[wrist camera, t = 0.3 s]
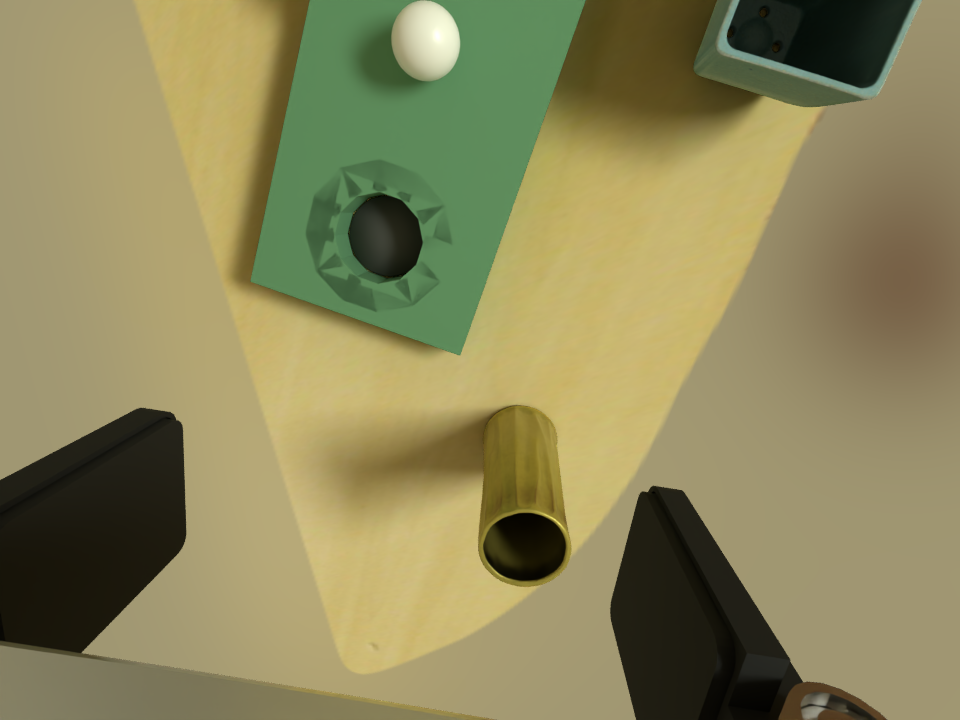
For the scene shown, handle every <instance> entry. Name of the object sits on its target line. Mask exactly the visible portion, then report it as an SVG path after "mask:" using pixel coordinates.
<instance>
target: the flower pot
mask: <svg viewBox="0 0 960 720" xmlns="http://www.w3.org/2000/svg"><path fill="white" fill-rule="evenodd" d="M921 1H922V0H717V2H716V5H715V8H714V10H713V13H712V16H711V19H710V21H709V24H708V27H707V30H706V32H705V35H704V38H703V40H702V43H701V46H700V48H699V51H698V54H697V56H696V59H695V62H694V66H693V68H694V72H695V73H696V74H697V75H699V76H701V77H704V78H708V79H711V80H715V81H718V82H721V83H724V84H728V85H731V86H734V87H738V88H741V89H744V90H747V91H750V92H753V93H757V94H760V95H763V96H766V97H770V98H773V99H776V100H779V101H782V102H785V103H788V104H792V105H796V106H802V107H820V106H828V105H835V104H842V103H848V102H856V101H861V100H868V99H872V98H874V97H876V96H877V95H878V94H879V92H880V90H881V89H882V87H883V85H884V83H885V81H886V79H887V76H888V74H889V72H890V70H891V68H892V66H893V63H894V60H895V59H896V57H897V55H898V52H899V50H900V47H901V44H902V42H903V41H904V38H905V36H906V33H907V31H908V29H909V27H910V25H911V23H912V20H913V18H914V16H915V14H916V12H917V10H918V8H919V6H920V3H921ZM763 8H765V9H766V10H767V15H766V16H765V17H761V16H760V13H759V12H760V10H761V9H763ZM728 29H732V30H733V35H732V36H731V37H730V38H728V37H727V32H728ZM775 43H778V44H779V45H780V49H779V51H778V52H774V51H773V50H772V46H773V45H774V44H775Z"/></svg>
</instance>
